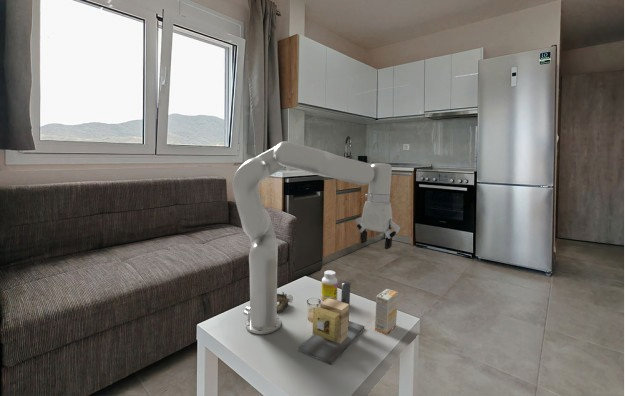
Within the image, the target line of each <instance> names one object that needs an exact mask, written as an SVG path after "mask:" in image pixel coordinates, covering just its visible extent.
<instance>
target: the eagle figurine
mask: <svg viewBox="0 0 625 396" xmlns="http://www.w3.org/2000/svg"><path fill="white" fill-rule="evenodd" d="M293 300H294V296H293V295H292V294H288V295H287V293H285V292H284V291H282V293H277V314H280V313H282V312H283V311H284V310H285V309H286V308H288V306H289V303H291V304H292V302H293Z"/></svg>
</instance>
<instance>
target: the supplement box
mask: <svg viewBox="0 0 625 396" xmlns="http://www.w3.org/2000/svg"><path fill="white" fill-rule="evenodd" d="M375 297H376V298H375V299H376V300H375V317H374V330H375V331H376V330H377V332H379V333H381V332H382V333H381V334H384V333H385V334H384V335H387V334H389V332H390V331H391V330H392V328H393V327H394V326H395V325H396V326H397V313H398V302H399V301H398V298H399V292H398V291H395V290H393V289H389V288H386V289H384V290H383V291H381V292H380V293H378V294H377V295H376V296H375ZM396 326H395V327H396ZM395 327H394V328H395ZM394 328H393V329H394Z"/></svg>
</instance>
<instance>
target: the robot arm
mask: <svg viewBox="0 0 625 396" xmlns="http://www.w3.org/2000/svg"><path fill="white" fill-rule="evenodd" d="M285 168H289V169H293V170H297V171H300V172H305V173H308V174H312V175H316V176H321V177H324V178H332V179H336V180H339V181H342V182H346V183H347V182H348V183H351V184H354V185H359V186H367V185H368V192H367V193H365V195H364V197H365V198H367V199H366V201H365V203H364V205H363V209H362V215H361V216H360V217H357V218H356V219H355V221H354V222H355V224H356V228H357V229H358V231H359V232H360V243H361V244H364V243H367V242H368V231H372V232H378V233H383V234H384V235H385V236H386V238H385V239H384V240H385V241H384V249H385V250H389V249H391V248H392V246H393V245H392V244H393V238H394V237H395V236H396V235H397V234H398V233H399V232H400V230H401V226H400V225H398V224H397V223H396V222H394V221H393V209H392V204H391V202H390V199H391V198H390V197H391V184H392V173H393V171H392V170H393V169H392V165H391V164H389V163H383V162H373V163H368V162H365V161H361V160H357V159H352V158H348V157H345V156H341V155H337V154H335V153H332V152H329V151H325V150H322V149H319V148H315V147H312V146H311V147H310V146H307V145H302V144H301V143H300V144H299V143H296V142H291V141H286V140H285V141H279V143H278V144H276V145H275V146H273V147H272V148H270V149H267V150H266V151H265V152H261V154H259V155H257V156H254V157H251V158H249V159H247V160H246V161H245V162H243V163H242V164H241V165H240V167H238V169H237V170H236V171H235V173H234V176H233V178H232V183H231V184H232V194H233V197H234V200H235V204H236V208H237V213H238V215H239V219H240V222H241V227H242V230H243V232H244V233H245V234H246V236H247V237H249V240H250V243H251V247H250V249H249V255H248V264H249V265H248V266H249V306H246V307H245V310H244V311H243V315H244V316H247V319H246V321H245V328H246V330H247V331H249V332H250V333H252V334H255V335H256V334H257V335H267V334H271V333H274V332H275V331H278V330H279V329H280V327H281V326H282V320H281V318H280V317H279V316H278V313H277V304H278V302H277V294H278V253H279V252H278V248H279V247H278V240H277V236H276V232H275V230H274V225H273V223H272V218H271V215H270V213H269V212H268V210H267V209H266V208H264V204H263V201H262V197H261V194H260V190H259V186H260V184H261V183H262V182H263V181H265V180H266V179H268V178H269V177H270V176H272V175H274V174H277V173H278V172H280V171H282V170H283V169H285ZM392 228H393V231H392ZM367 230H368V231H367Z"/></svg>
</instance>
